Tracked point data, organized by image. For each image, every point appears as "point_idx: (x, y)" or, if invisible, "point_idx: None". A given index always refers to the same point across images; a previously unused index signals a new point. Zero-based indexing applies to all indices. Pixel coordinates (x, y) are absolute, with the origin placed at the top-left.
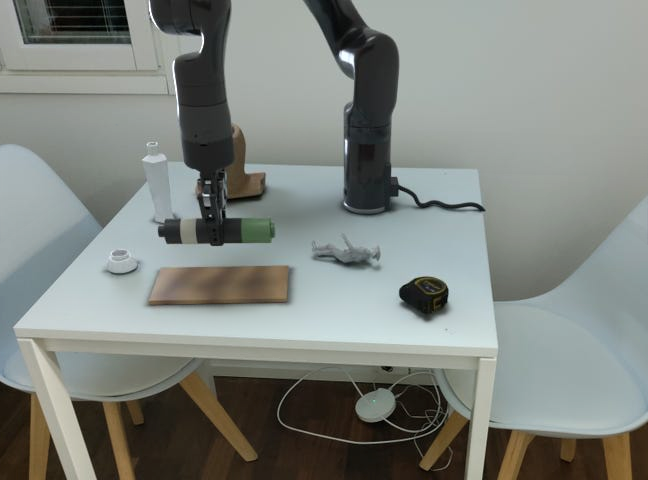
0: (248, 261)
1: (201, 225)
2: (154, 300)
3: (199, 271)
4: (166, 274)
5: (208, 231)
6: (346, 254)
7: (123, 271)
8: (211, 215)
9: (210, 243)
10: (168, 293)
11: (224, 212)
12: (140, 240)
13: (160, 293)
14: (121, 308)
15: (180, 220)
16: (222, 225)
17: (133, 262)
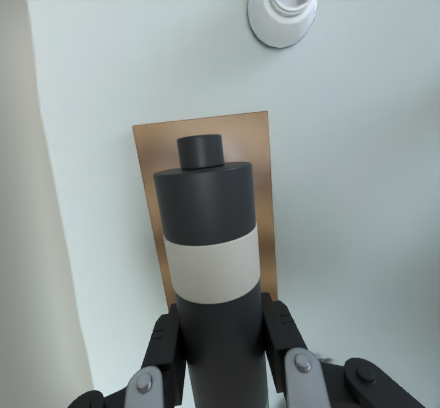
0: (305, 264)
1: (188, 318)
2: (134, 137)
3: (254, 195)
4: (238, 131)
5: (163, 338)
6: None
7: (250, 22)
8: (269, 337)
9: (171, 306)
10: (164, 158)
11: (276, 388)
12: (415, 11)
13: (161, 142)
14: (113, 71)
15: (200, 244)
16: (198, 379)
17: (279, 36)
